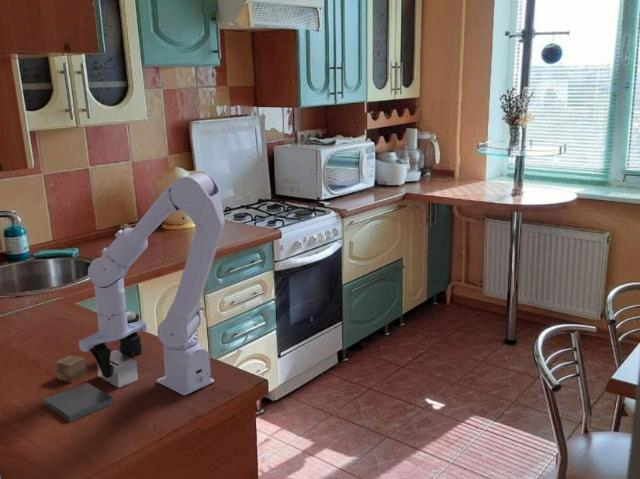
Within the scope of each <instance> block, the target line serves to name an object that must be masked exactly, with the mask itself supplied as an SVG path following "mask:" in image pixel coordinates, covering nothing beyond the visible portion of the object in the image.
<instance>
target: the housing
mask: <svg viewBox="0 0 640 479" xmlns="http://www.w3.org/2000/svg"><path fill="white" fill-rule="evenodd" d="M116 350H117V349H116ZM116 350H115V349H114V350H113V351H112V350H111V354H110V370H111V376H110V377H109V378H106V377H104V376H103V375H102V372H101V369H100V367H99V364H98V362H97V361H96V367H97V376H99V377H98V378H100V377H101V379H102V378H103V379H102V380H104V379H105V380H104V381H106V382H107V381H108V383H109V382H110V383H109V384H111V385H113V386H115V387H116V388H118V387H119V389H120V388H122V387H125V386H127V385H130V384H132V383H135V382H137V381H139V375H138V365H137V364H138V363H137V359H135V358H134V359H132V358H130V357H128V356H126V355H124V354H122V353H120V352H118V351H116ZM134 381H135V382H134ZM124 385H125V386H124Z"/></svg>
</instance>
